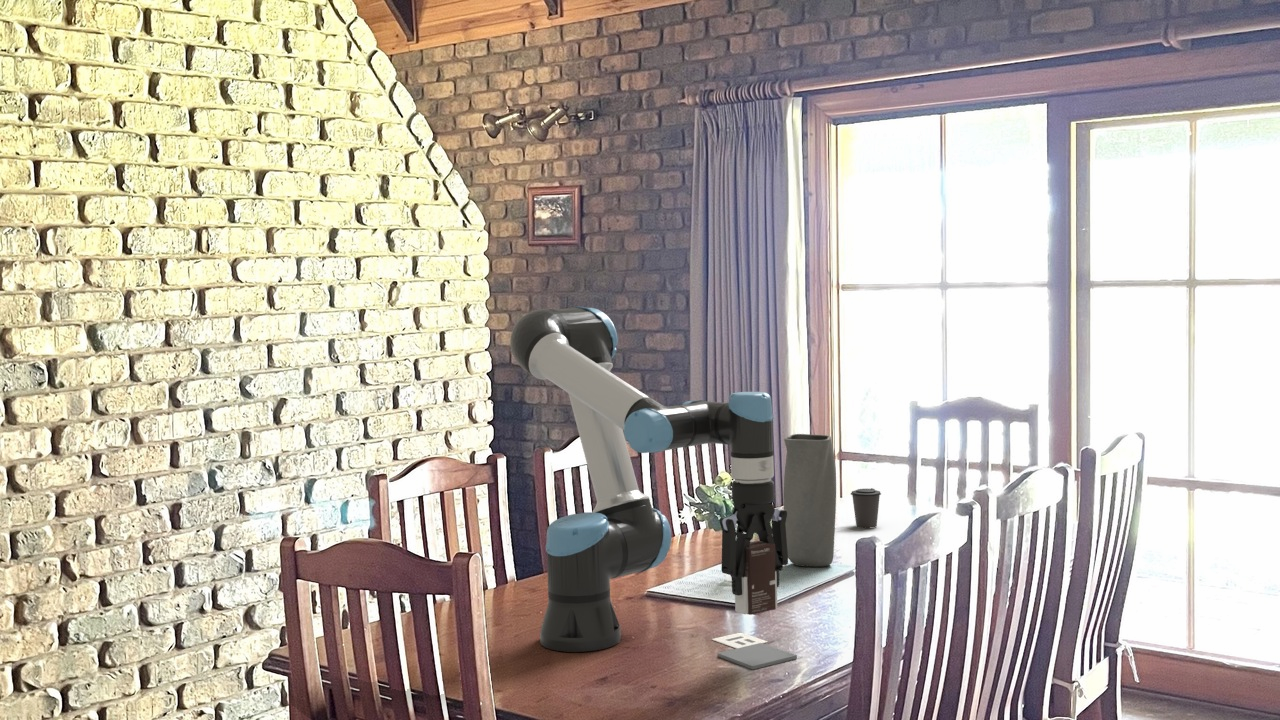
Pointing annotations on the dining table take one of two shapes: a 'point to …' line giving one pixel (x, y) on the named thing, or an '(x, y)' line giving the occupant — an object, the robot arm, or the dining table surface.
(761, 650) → the coaster
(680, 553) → the dining table surface
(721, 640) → the tile
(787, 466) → the vase
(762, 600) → the box
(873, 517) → the coffee cup
